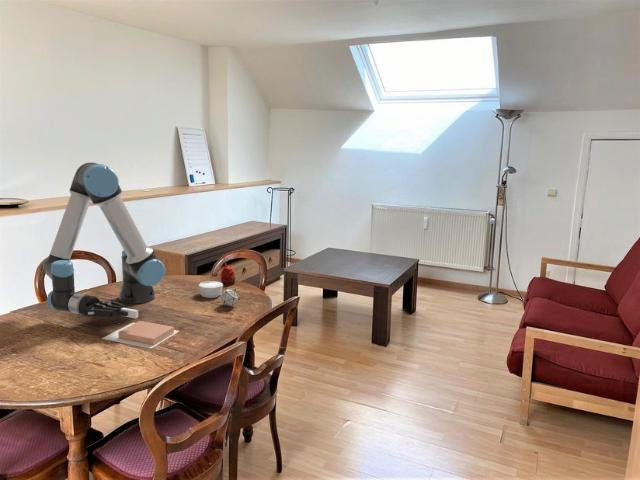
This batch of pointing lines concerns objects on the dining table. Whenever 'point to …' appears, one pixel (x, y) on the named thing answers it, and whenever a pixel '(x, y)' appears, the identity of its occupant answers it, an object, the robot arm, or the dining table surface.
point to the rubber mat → (116, 338)
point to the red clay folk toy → (227, 274)
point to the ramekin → (210, 289)
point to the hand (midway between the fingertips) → (136, 314)
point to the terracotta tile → (146, 332)
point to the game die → (229, 297)
